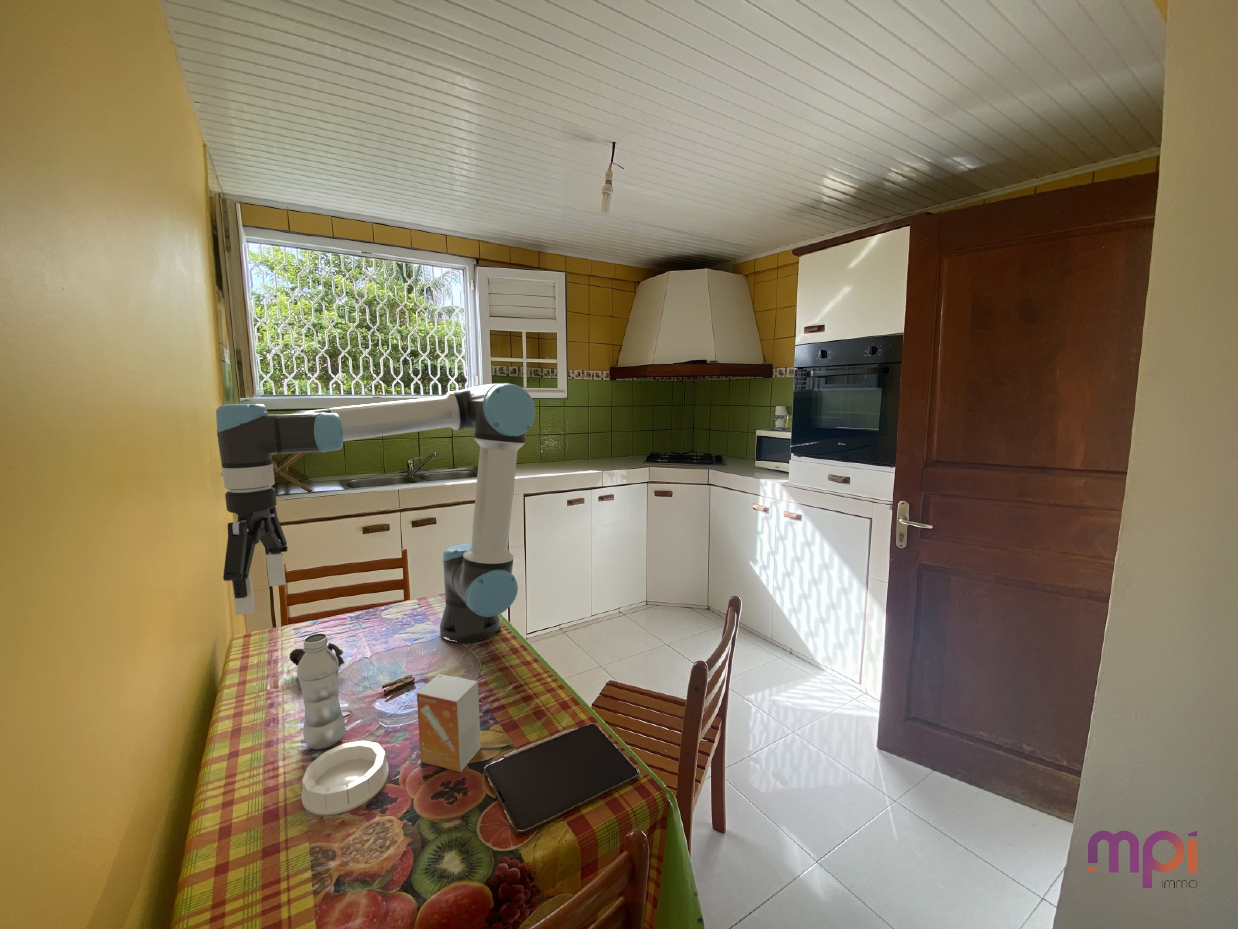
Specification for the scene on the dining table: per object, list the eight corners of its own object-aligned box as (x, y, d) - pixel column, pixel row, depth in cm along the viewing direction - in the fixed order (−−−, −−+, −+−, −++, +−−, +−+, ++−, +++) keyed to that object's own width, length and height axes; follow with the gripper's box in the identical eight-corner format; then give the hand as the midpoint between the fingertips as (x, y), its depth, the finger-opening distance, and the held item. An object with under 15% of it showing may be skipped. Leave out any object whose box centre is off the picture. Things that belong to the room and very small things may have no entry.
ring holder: (394, 750, 90) (392, 733, 89) (382, 805, 78) (380, 785, 77) (314, 764, 86) (313, 747, 86) (289, 824, 74) (287, 804, 74)
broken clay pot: (353, 662, 120) (351, 642, 115) (332, 700, 112) (328, 680, 107) (302, 651, 119) (298, 630, 114) (276, 689, 111) (270, 668, 106)
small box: (419, 763, 86) (415, 692, 85) (443, 739, 92) (439, 672, 91) (460, 774, 84) (456, 701, 82) (482, 748, 90) (478, 680, 88)
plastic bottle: (317, 760, 87) (306, 651, 84) (297, 745, 91) (285, 640, 88) (353, 738, 93) (344, 635, 90) (333, 725, 96) (323, 626, 93)
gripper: (257, 478, 104) (268, 576, 108) (186, 504, 80) (203, 630, 84) (298, 476, 106) (308, 573, 109) (240, 501, 82) (255, 625, 85)
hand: (262, 598), depth 96 cm, fingers open, 13 cm apart
